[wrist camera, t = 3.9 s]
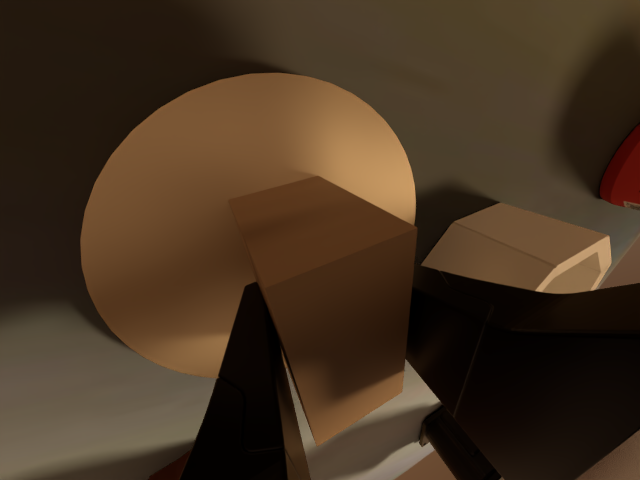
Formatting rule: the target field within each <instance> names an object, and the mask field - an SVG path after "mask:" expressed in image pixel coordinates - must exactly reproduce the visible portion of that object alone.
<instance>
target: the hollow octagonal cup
mask: <svg viewBox="0 0 640 480" xmlns="http://www.w3.org/2000/svg"><path fill="white" fill-rule="evenodd" d="M611 263H612V262H611V250H610V238H609V235H606V234H602V233H599V232H596V231H592V230H589V229H586V228H583V227H579V226H576V225H573V224H569V223H566V222H563V221H560V220H556V219H553V218H550V217H546V216H543V215H540V214H537V213H533V212H530V211H527V210H523V209H520V208H517V207H513V206H510V205H507V204H504V203H498V204H496V205H493V206H491V207H488V208H486V209H483V210H481V211H478V212H476V213H473V214H471V215H469V216H466V217H464V218H461V219H459V220H456V221H454V223H452V224H451V225H450V227H449V228H448V229H447V230H446V232H445V233H444V234H443V236H442V237H441V238H440V240H439V241H438V242H437V244H436V245H435V246H434V248H433V249H432V250H431V252H430V253H429V254H428V256H427V257H426V258H425V260H424V261H423V262H422V264H421V265H422V266H425V267H429V268H433V269H437V270H439V271H445V272H449V273H452V274H456V275H461V276H465V277H469V278H473V279H478V280H483V281H488V282H493V283H498V284H503V285H508V286H513V287H518V288H523V289H528V290H533V291H539V292H545V293H555V294H566V293H578V292H585V291H591V290H595V289H596V287H597V285H598V284H599V282H600V281H601V279H602V277H603V276H604V274H605V273H606V271H607V269H608V268H609V266H610V265H611Z"/></svg>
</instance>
